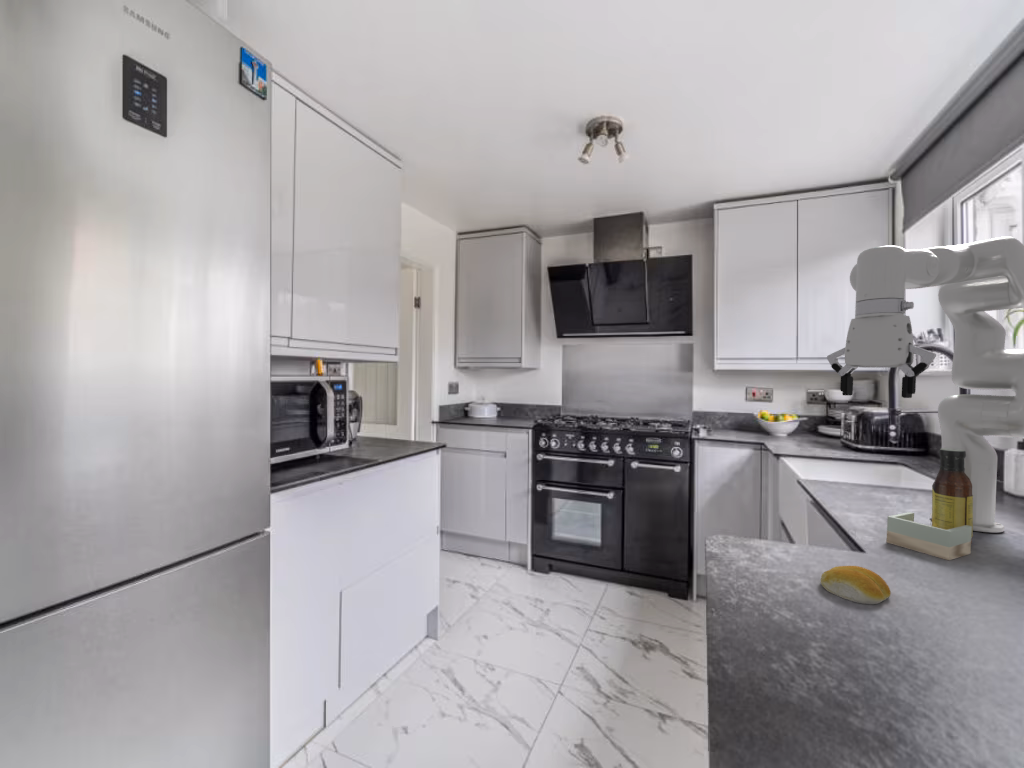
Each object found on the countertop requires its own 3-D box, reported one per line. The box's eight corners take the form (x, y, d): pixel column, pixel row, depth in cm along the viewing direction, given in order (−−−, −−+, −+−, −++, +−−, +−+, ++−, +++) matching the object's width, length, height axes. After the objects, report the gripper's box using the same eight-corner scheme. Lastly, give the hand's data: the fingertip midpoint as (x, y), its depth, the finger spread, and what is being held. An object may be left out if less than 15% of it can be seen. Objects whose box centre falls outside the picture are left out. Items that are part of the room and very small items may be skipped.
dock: (908, 537, 98) (909, 512, 98) (970, 553, 89) (971, 526, 89) (886, 542, 94) (887, 516, 94) (948, 560, 85) (950, 531, 85)
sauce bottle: (954, 537, 98) (958, 447, 98) (981, 548, 92) (985, 452, 92) (922, 535, 99) (926, 446, 99) (946, 546, 93) (950, 450, 93)
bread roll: (896, 597, 70) (897, 571, 70) (874, 611, 65) (875, 584, 65) (835, 576, 77) (836, 553, 77) (811, 588, 72) (812, 563, 72)
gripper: (943, 307, 84) (940, 398, 84) (837, 316, 98) (834, 394, 99) (930, 303, 80) (926, 399, 80) (821, 313, 94) (818, 394, 94)
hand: (875, 396), depth 89 cm, fingers open, 9 cm apart
